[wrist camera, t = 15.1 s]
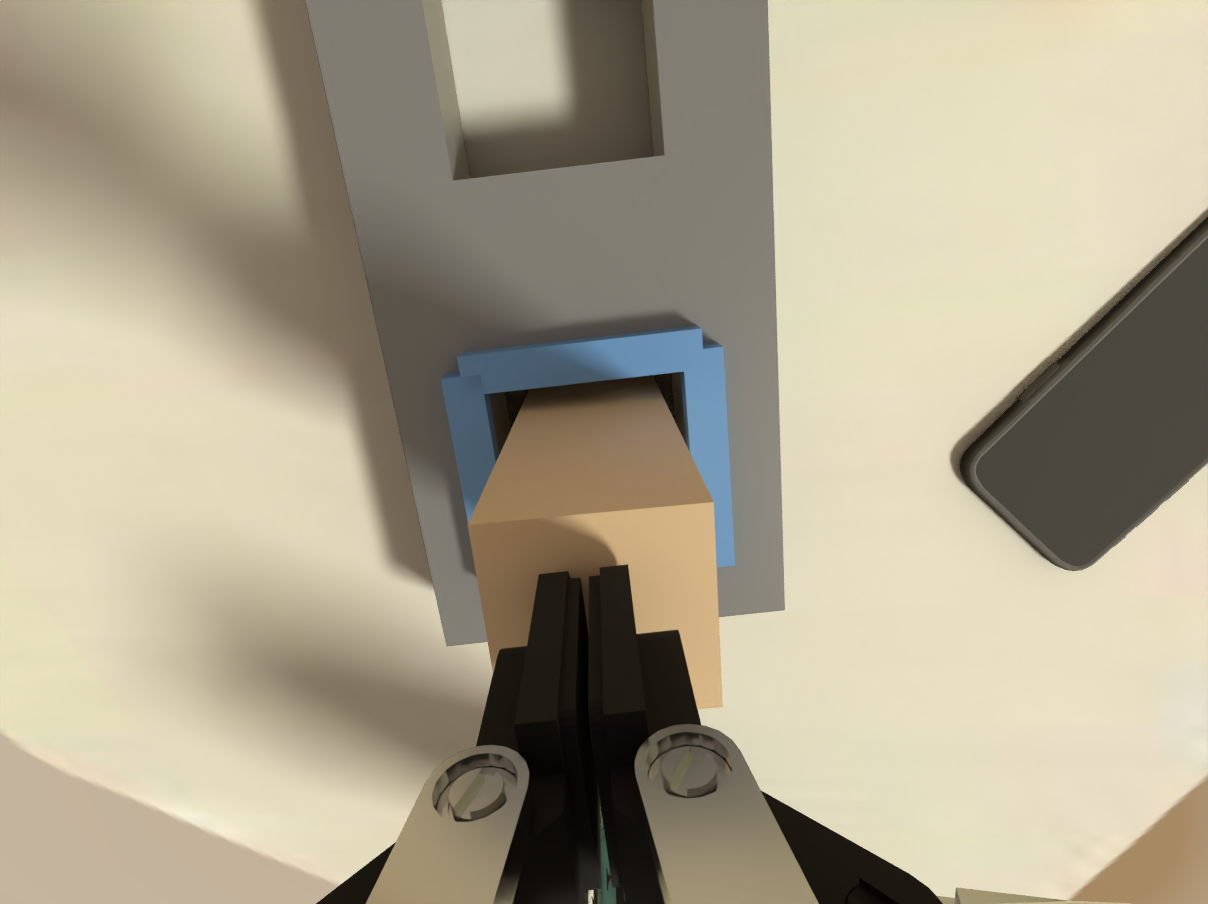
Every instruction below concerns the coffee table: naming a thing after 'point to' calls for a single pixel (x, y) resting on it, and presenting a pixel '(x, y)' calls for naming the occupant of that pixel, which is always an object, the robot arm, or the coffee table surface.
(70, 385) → the coffee table surface
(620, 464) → the tan rectangular block
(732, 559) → the square hole board
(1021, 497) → the smartphone
